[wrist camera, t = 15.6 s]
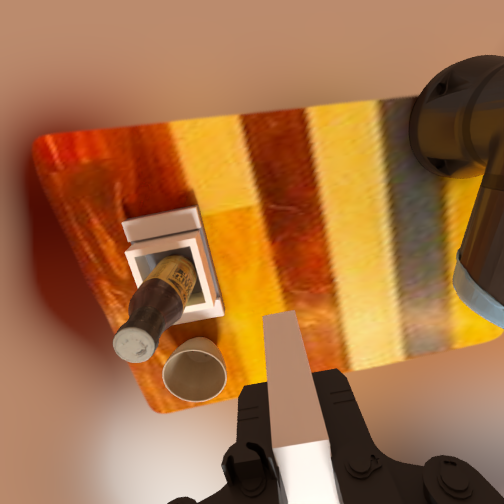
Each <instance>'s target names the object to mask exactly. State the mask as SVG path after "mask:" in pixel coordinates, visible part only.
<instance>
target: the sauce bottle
mask: <svg viewBox="0 0 504 504" xmlns="http://www.w3.org/2000/svg"><path fill="white" fill-rule="evenodd" d="M196 278H197V270H196V267H195V265H194V263H193V262H192V261H191V260H190V259H189V258H188V257H186V256H183V255H178V254H172V255H169V256H167V257H165V258H163V259H162V260H161V261H160V262H159V263H158V264H157V266H156V267H155V268H154V269H153V271H152V272H151V273H150V274H149V275H148V277H147V278H146V279H145V280H144V281H143V283H142V284H141V285H140V286H139V288H138V290H137V291H136V292H135V294H134V295H133V297H132V298H131V300H130V303H129V310H128V311H129V319H128V321H127V322H126V323H125V324H123V325H122V326H121V327H120V328H119V330H118V331H117V333H116V334H115V336H114V339H113V347H114V349H115V351H116V353H117V355H118V356H119V357H120V358H122V359H124V360H126V361H128V362H131V363H140V362H143V361H146V360H148V359H149V358H150V357H151V356H152V355H153V353H154V352H155V350H156V348H157V347H158V344H159V338H160V336H161V334H162V333H163V332H164V331H165V330H166V329H168V328H169V327H170V326H171V325H173V324H174V323H175V322H177V321H178V320H179V319H180V318H181V316H182V314H183V312H184V310H185V307H186V305H187V302H188V300H189V297H190V295H191V292H192V290H193V288H194V285H195V283H196Z"/></svg>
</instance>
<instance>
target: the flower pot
mask: <svg viewBox="0 0 504 504" xmlns="http://www.w3.org/2000/svg"><path fill="white" fill-rule="evenodd" d="M193 351H194V352H193ZM162 377H163V381H164V384H165V386H166V387H167V389H168V390H169V391H170V392H171V393H172V394H173V395H175V396H176V397H178V398H180V399H182V400H185V401H190V402H203V401H207V400H210V399H212V398H214V397H216V396H217V395H218V394H219V393H220V392H221V391H222V390H223V388H224V387H225V384H226V380H227V373H226V366H225V362H224V359H223V356H222V354H221V352H220V350H219V349H218V347H217V346H216V345H215V344H214V343H213V342H212V341H211V340H209V339H208V338H205V337H195V338H192V339H190V340H188V341H186V342H184V343H183V344H181V345H180V346H179V347H178V348H177V349H176V350H175V351H174V352H173V353H172V354H171V356H170V357H169V359H168V360H167V362H166V363H165V365H164V368H163V372H162Z"/></svg>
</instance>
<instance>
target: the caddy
mask: <svg viewBox="0 0 504 504" xmlns="http://www.w3.org/2000/svg"><path fill="white" fill-rule="evenodd" d="M122 225H123V228H124V231H125V234H126V237H127V240H128V242H131V244H132V246H131V247H130V248H128V249H127V250H126V251H125V254H126V257H127V259H128V262H129V265H130V268H131V271H132V273H133V276H134V279H135V282H136V285H137V287H138V288H139V286H140V285H141V284H142V283H143V281H144V280H145V279H146V278H147V277H148V275H149V274H150V273H151V272H152V271H153V269H154V268H155V267H156V266H157V264H158V263H159V262H160V261H161V260H162V259H163V258H165V257H167V256H169V255H172V254H178V255H183V256H186V257H188V258H189V259H190V260H191V261H192V262H193V263H194V265H195V267H196V270H197V278H196V283H195V285H194V288H193V290H192V292H191V295H190V297H189V300H188V302H187V305H186V307H185V310H184V312H183V314H182V316H181V318H180V319H179V320H178V321H177V322H175V323H174V324H173V325H176V324H181V323H187V322H192V321H197V320H203V319H208V318H214V317H219V316H224V312H225V307H224V303H223V299H222V295H221V291H220V287H219V284H218V280H217V276H216V272H215V268H214V264H213V260H212V257H211V253H210V249H209V245H208V241H207V237H206V233H205V230H204V226H203V222H202V218H201V214H200V210H199V206H198V205H194V206H189V207H184V208H179V209H174V210H169V211H164V212H159V213H154V214H149V215H144V216H139V217H134V218H129V219H126V220H125V221H123V222H122Z"/></svg>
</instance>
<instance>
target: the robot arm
mask: <svg viewBox="0 0 504 504" xmlns="http://www.w3.org/2000/svg"><path fill="white" fill-rule="evenodd" d="M409 137H410V143H411V147H412V150H413V153H414V155H415V157H416V158H417V160H418V161H419V162H420V164H421V165H422V166H423V167H425V168H426V169H427V170H429V171H430V172H432V173H434V174H437V175H440V176H444V177H450V178H471V177H476V176H479V175H483V174H484V176H483V179H482V182H481V185H480V188H479V191H478V194H477V197H476V200H475V204H474V207H473V210H472V213H471V216H470V219H469V222H468V225H467V228H466V232H465V235H464V238H463V241H462V244H461V247H460V249H459V250H458V251H457V255H456V259H457V263H456V267H455V271H454V275H453V286H454V288H455V290H456V292H457V295H458V296H459V298H460V299H461V300H462V301H463V302H464V303H465V304H466V305H467V306H468V307H469V308H470V309H472V310H473V311H474V312H475V313H477V314H478V315H480V316H481V317H483V318H485V319H486V320H488V321H490V322H491V323H493V324H495V325H497V326H499V327H501V328H503V329H504V57H502V56H496V55H484V56H476V57H472V58H469V59H466V60H463V61H460V62H458V63H455V64H453V65H451V66H449V67H448V68H445V69H444V70H442V71H441V72H440V73H438V74H437V75H436V76H435V77H434V78H433V79H432V80H431V81H430V82H429V83H428V84H427V85H426V87H425V88H424V89H423V91H422V92H421V94H420V95H419V97H418V99H417V101H416V103H415V105H414V108H413V111H412V114H411V119H410V125H409ZM263 328H264V342H265V355H266V369H267V382H263V383H257V384H252V385H246V386H244V387H243V389H242V391H241V393H240V395H239V397H238V416H237V418H238V419H237V421H238V423H237V438H236V439H237V440H236V443H235V444H233V445H232V446H231V447H229V449H228V450H227V452H226V453H225V455H224V457H223V461H222V464H221V466H222V469H223V472H224V475H225V477H226V480H227V484H226V485H225V486H224V487H223V488H222V489H221V490H219V491H218V492H216V493H215V494H213V495H211V496H209V497H208V498H206V499H204V500H202V501H200V502H198V503H197V502H196V501H195V500H194V499H191V498H189V497H180V498H176V499H174V500H172V501H170V502H169V503H167V504H504V498H503V497H502V496H501V495H500V494H499V492H498V491H496V490H495V488H494V487H493V486H491V484H490V483H489V482H488V481H487V480H486V479H485V478H484V477H483V476H482V475H481V474H480V473H479V472H478V471H477V470H476V469H474V468H473V467H472V466H470V465H469V464H468V463H467V462H465V461H462V460H460V459H458V458H456V457H452V456H444V455H441V456H435V457H432V458H431V459H430V460H428V461H427V462H426V463H425V465H424V466H419V465H413V464H407V463H402V462H399V461H395V460H393V459H391V458H389V457H387V456H386V455H385V454H383V453H382V452H381V451H380V450H379V449H378V448H377V447H376V446H375V444H374V442H373V440H372V438H371V436H370V433H369V431H368V428H367V426H366V424H365V421H364V419H363V416H362V414H361V412H360V409H359V407H358V404H357V402H356V400H355V397H354V395H353V392H352V390H351V387H350V385H349V382H348V380H347V378H346V377H345V376H344V375H343V374H342V373H341V372H340V371H339V370H338V369H337V368H336V369H331V370H325V371H320V372H314V373H311V370H310V366H309V362H308V359H307V355H306V351H305V347H304V344H303V340H302V336H301V332H300V329H299V325H298V321H297V317H296V314H295V310H292V311H287V312H282V313H276V314H271V315H266V316H263Z"/></svg>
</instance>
